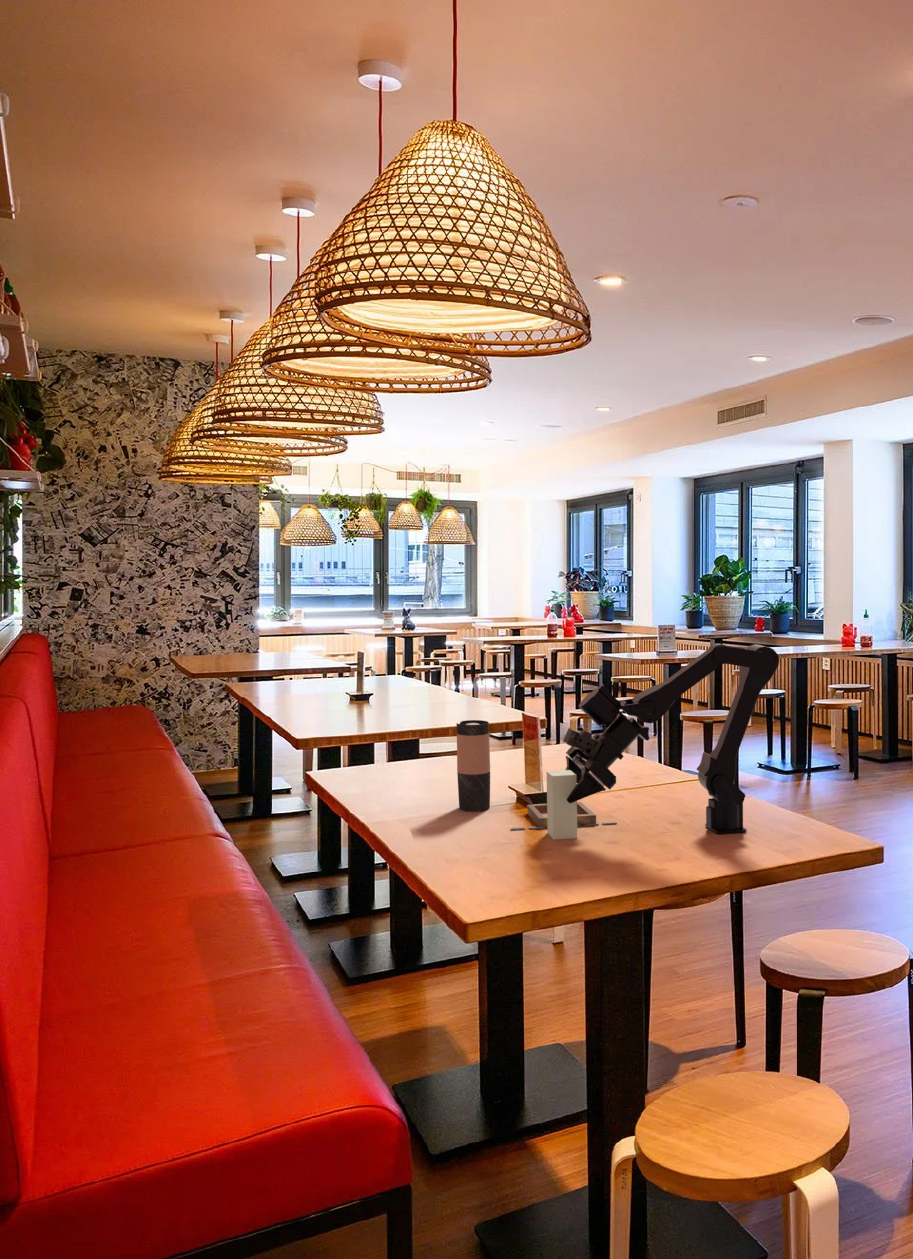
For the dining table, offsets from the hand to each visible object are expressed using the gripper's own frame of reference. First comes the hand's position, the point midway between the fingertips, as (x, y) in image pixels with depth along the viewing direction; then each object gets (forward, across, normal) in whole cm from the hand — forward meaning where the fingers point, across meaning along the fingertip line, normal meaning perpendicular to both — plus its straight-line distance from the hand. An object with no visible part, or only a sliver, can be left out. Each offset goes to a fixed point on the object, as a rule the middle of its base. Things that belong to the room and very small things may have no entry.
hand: (562, 796), depth 193 cm
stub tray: (+4, -13, +8) cm, 16 cm away
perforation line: (+4, -6, +7) cm, 10 cm away
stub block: (+6, 0, +6) cm, 8 cm away
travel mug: (+16, -27, -4) cm, 32 cm away
